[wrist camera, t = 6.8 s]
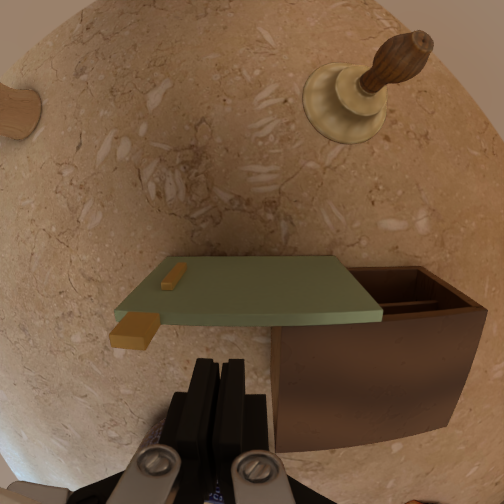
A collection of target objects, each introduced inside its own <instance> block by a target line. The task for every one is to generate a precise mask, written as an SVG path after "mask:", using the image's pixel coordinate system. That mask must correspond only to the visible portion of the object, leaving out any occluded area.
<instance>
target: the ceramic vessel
mask: <svg viewBox="0 0 504 504" xmlns="http://www.w3.org/2000/svg"><path fill="white" fill-rule="evenodd" d="M405 504H424V503H420V502H418V501H416V500H412V501H409V502H407V503H405ZM427 504H428V503H427ZM432 504H433V503H432Z"/></svg>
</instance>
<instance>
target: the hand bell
mask: <svg viewBox="0 0 504 504" xmlns="http://www.w3.org/2000/svg"><path fill="white" fill-rule="evenodd" d="M433 46H434V42H433V40H432V38H431V37H430V36H429V35H428V34H427V33H425V32H424V31H421V30H418V31H414V32H411V33H406V34H400V35H397V36H394V37H392V38H390V39H388V40H387V41H386V42H385V43H384V44H383V45H382V46H381V47H380V48H379V50H378V51H377V53H376V55H375V57H374V60H373V66H372V68H369V67H367V66H363V65H354V64H350V63H345V62H334V63H329V64H326V65H323V66H321V67H319V68H318V69H316V70H315V71H314V72H313V73H312V74H311V75H310V76H309V78H308V79H307V81H306V83H305V86H304V90H303V106H304V111H305V113H306V115H307V117H308V119H309V121H310V122H311V124H312V125H313V126H314V128H315V129H316V130H317V131H318V132H319V133H321V134H322V135H323V136H325V137H326V138H328V139H330V140H332V141H335V142H338V143H342V144H357V143H362V142H365V141H367V140H369V139H370V138H372V137H373V136H374V135H376V134H377V133H378V131H379V130H380V129H381V127H382V125H383V123H384V120H385V117H386V101H387V88H386V84H388V83H400V82H404V81H407V80H409V79H411V78H413V77H414V76H416V75H417V74H418V73H419V72H420V71H421V70H422V69H423V68H424V66H425V64H426V62H427V60H428V57H429V55H430V53H431V51H432V50H433Z"/></svg>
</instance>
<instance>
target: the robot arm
mask: <svg viewBox="0 0 504 504" xmlns="http://www.w3.org/2000/svg"><path fill="white" fill-rule="evenodd" d="M217 479H218V485H219V490H220V494H223V499H224V504H337V503H335V502H333V501H331V500H329V499H328V498H326V497H324V496H322V495H320V494H319V493H317V492H315V491H313V490H312V489H310V488H308V487H307V486H305V485H303V484H302V483H300V482H298V481H297V480H295V479H293V478H292V477H290V476H288V475H287V474H286V471H285V468H284V464H283V462H282V461H281V459H280V458H279V457H278V456H277V455H276V454H274V453H271V452H269V446H268V425H267V406H266V394H245V366H244V359H229V362H228V363H223V365H222V372H221V379H220V373H219V363H213V359H207V358H197V360H196V364H195V367H194V371H193V375H192V378H191V382H190V386H189V389H188V393H187V392H175V393H174V395H173V397H172V401H171V404H170V407H169V410H168V413H167V416H166V419H165V423H164V426H163V429H162V432H161V435H160V439H159V442H158V444H151V445H148V446H145V447H142V448H141V449H139V450H138V451H137V452H136V453H135V455H134V456H133V458H132V459H131V461H130V463H129V465H128V466H127V468H126V470H124V471H122V472H119V473H117V474H115V475H112V476H110V477H108V478H105V479H103V480H100V481H98V482H95V483H93V484H90V485H88V486H85V487H83V488H80V489H78V490H76V491H74V492H72V491H70V490H69V489H68V488H61V487H54V486H47V485H42V484H36V483H31V482H26V481H15V482H13V483H12V484H10V485H9V486H8V487H7V489H4V488H0V504H204V501H209V496H210V493H216V485H217Z"/></svg>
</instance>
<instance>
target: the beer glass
mask: <svg viewBox="0 0 504 504" xmlns="http://www.w3.org/2000/svg"><path fill="white" fill-rule="evenodd" d="M40 114H41V100H40V97H39V95H38V94H37V93H36V92H35V91H33V90H29V89H13V88H10V87H8V86H6V85H4V84H2V83H1V82H0V135H1V136H6V137H8V138H11V139H14V140H22V139H24V138H26V137H28V136H29V135H30V134H31V133H32V132H33V130H34V129H35V127H36V126H37V124H38V121H39V118H40Z"/></svg>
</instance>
